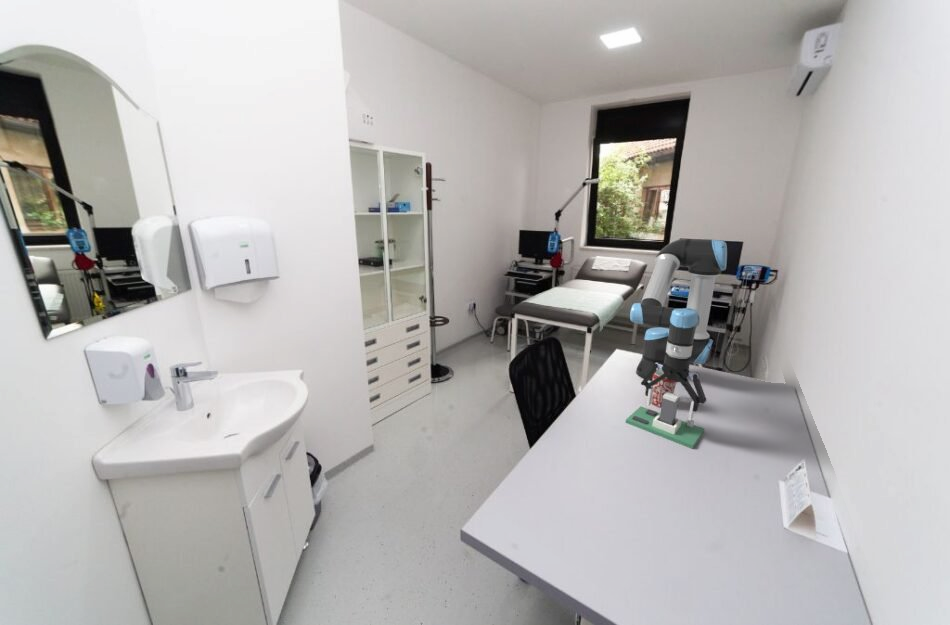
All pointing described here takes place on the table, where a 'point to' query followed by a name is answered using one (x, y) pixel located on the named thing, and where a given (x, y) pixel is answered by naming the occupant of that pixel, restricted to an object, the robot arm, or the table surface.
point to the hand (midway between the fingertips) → (668, 411)
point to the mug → (661, 388)
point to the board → (666, 427)
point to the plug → (669, 408)
